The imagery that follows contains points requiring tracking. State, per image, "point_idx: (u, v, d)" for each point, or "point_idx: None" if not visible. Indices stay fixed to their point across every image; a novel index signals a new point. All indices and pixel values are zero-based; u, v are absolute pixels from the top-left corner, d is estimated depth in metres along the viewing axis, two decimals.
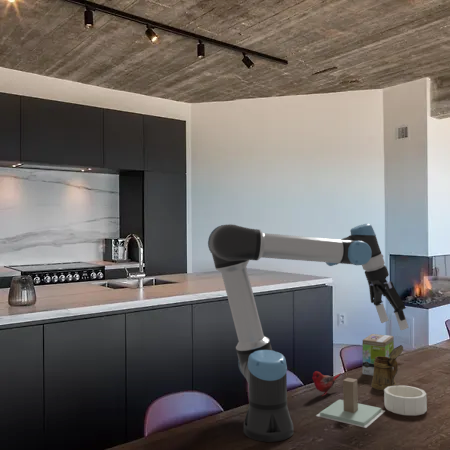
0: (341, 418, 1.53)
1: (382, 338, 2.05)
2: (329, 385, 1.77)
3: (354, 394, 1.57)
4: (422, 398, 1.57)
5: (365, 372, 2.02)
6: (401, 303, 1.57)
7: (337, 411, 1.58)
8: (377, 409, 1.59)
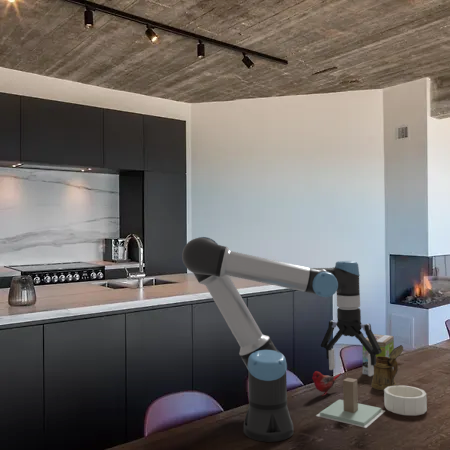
0: (341, 418, 1.53)
1: (382, 338, 2.05)
2: (329, 385, 1.77)
3: (354, 394, 1.57)
4: (422, 398, 1.57)
5: (365, 372, 2.02)
6: (378, 347, 1.53)
7: (337, 411, 1.58)
8: (377, 409, 1.59)
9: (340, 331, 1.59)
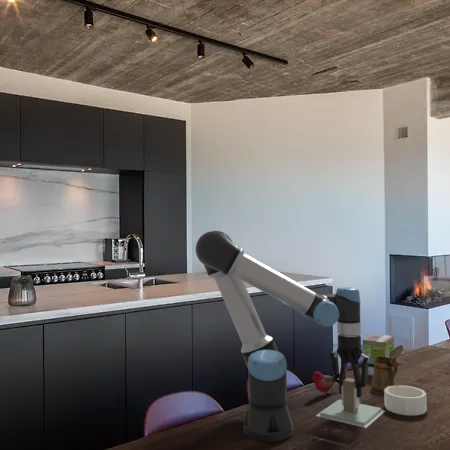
0: (341, 418, 1.53)
1: (382, 338, 2.05)
2: (329, 385, 1.77)
3: None
4: (422, 398, 1.57)
5: None
6: (366, 380, 1.56)
7: (337, 411, 1.58)
8: (377, 409, 1.59)
9: (343, 359, 1.58)
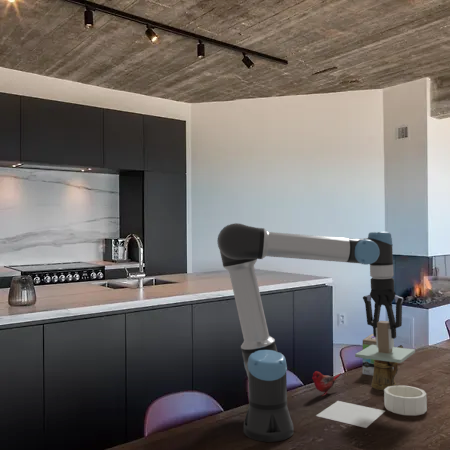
0: (377, 357, 1.55)
1: None
2: (329, 385, 1.77)
3: None
4: (422, 398, 1.57)
5: (365, 372, 2.02)
6: (401, 321, 1.58)
7: (372, 353, 1.60)
8: (411, 350, 1.61)
9: (376, 302, 1.61)
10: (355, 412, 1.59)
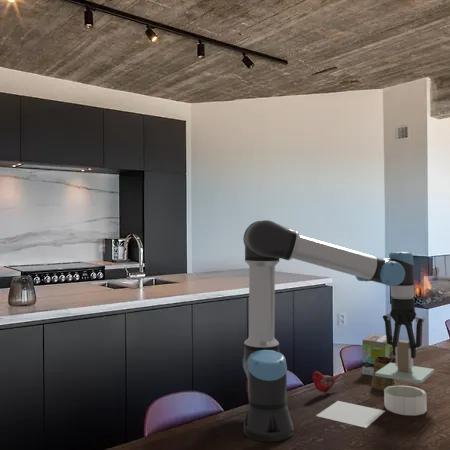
0: (397, 377, 1.57)
1: (382, 338, 2.05)
2: (329, 385, 1.77)
3: None
4: (422, 398, 1.57)
5: (365, 372, 2.02)
6: (421, 341, 1.60)
7: (392, 372, 1.62)
8: (430, 370, 1.63)
9: (396, 321, 1.63)
10: (355, 412, 1.59)
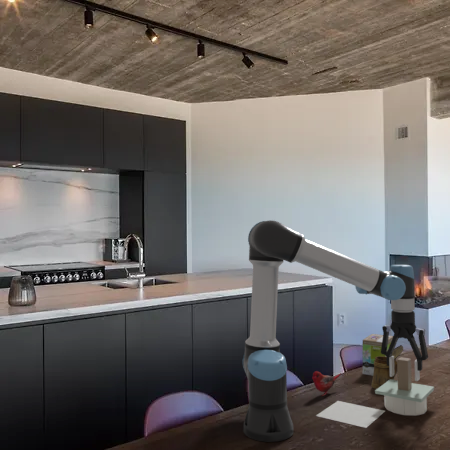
0: (397, 395, 1.57)
1: (382, 338, 2.05)
2: (329, 385, 1.77)
3: (408, 373, 1.61)
4: None
5: (365, 372, 2.02)
6: (426, 353, 1.59)
7: (392, 389, 1.62)
8: (430, 387, 1.63)
9: (395, 334, 1.63)
10: (355, 412, 1.59)
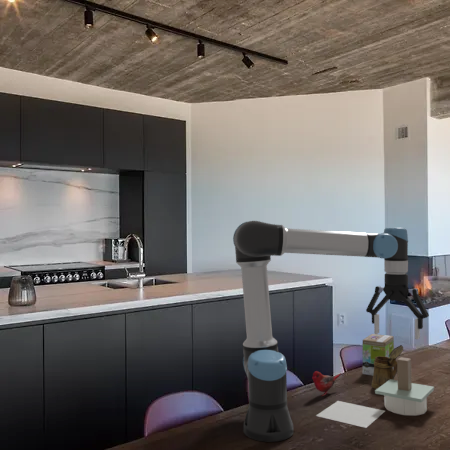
0: (397, 395, 1.57)
1: (382, 338, 2.05)
2: (329, 385, 1.77)
3: (408, 373, 1.61)
4: None
5: (365, 372, 2.02)
6: (426, 311, 1.57)
7: (392, 389, 1.62)
8: (430, 387, 1.63)
9: (387, 296, 1.63)
10: (355, 412, 1.59)
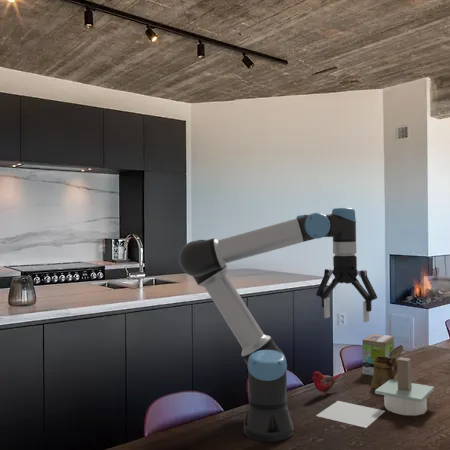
0: (397, 395, 1.57)
1: (382, 338, 2.05)
2: (329, 385, 1.77)
3: (408, 373, 1.61)
4: None
5: (365, 372, 2.02)
6: (374, 293, 1.52)
7: (392, 389, 1.62)
8: (430, 387, 1.63)
9: (336, 278, 1.58)
10: (355, 412, 1.59)
